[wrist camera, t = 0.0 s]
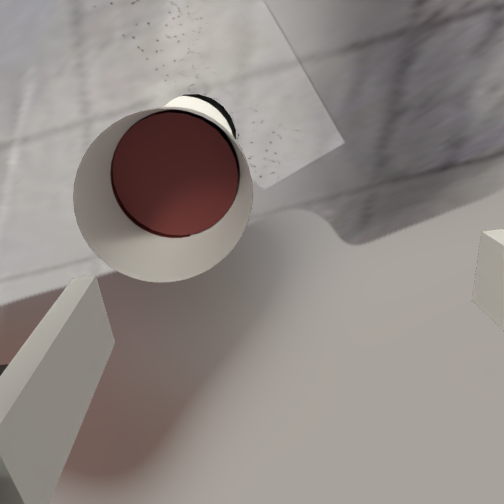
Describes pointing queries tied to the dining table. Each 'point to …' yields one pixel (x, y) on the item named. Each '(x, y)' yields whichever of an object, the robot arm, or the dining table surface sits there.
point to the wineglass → (165, 191)
